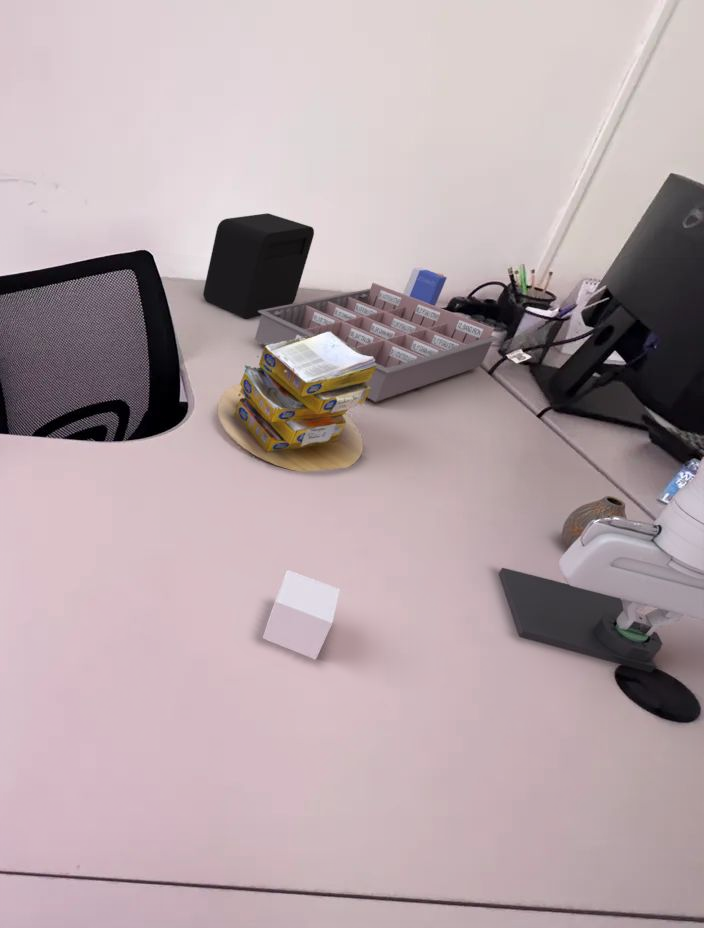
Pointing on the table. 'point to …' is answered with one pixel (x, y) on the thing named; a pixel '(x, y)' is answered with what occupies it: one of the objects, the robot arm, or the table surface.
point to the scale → (574, 620)
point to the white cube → (302, 614)
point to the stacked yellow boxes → (300, 404)
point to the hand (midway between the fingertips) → (631, 628)
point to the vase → (590, 517)
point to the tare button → (632, 635)
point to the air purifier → (256, 263)
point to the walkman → (425, 285)
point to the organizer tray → (386, 335)
